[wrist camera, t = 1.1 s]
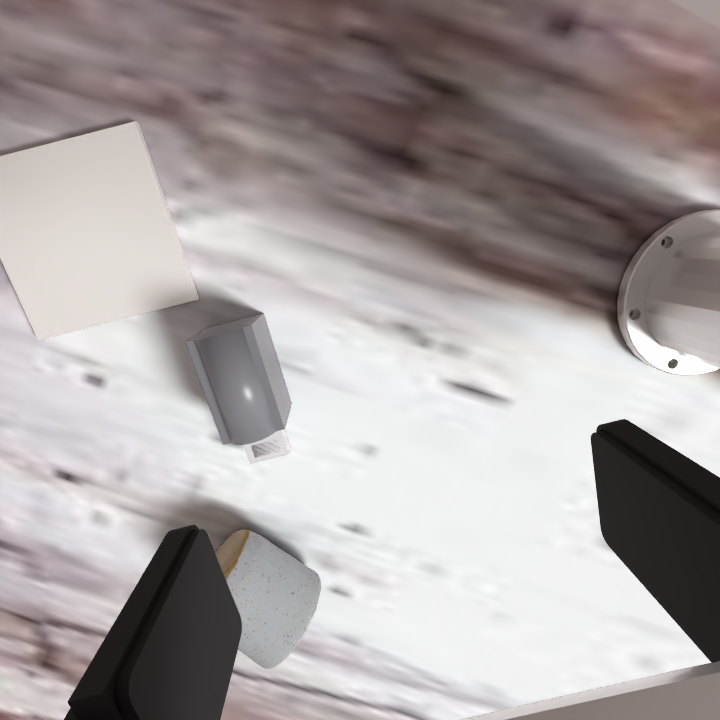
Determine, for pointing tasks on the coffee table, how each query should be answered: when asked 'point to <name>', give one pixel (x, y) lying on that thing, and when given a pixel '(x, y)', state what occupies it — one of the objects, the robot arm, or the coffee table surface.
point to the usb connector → (244, 385)
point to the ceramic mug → (268, 595)
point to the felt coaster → (89, 232)
